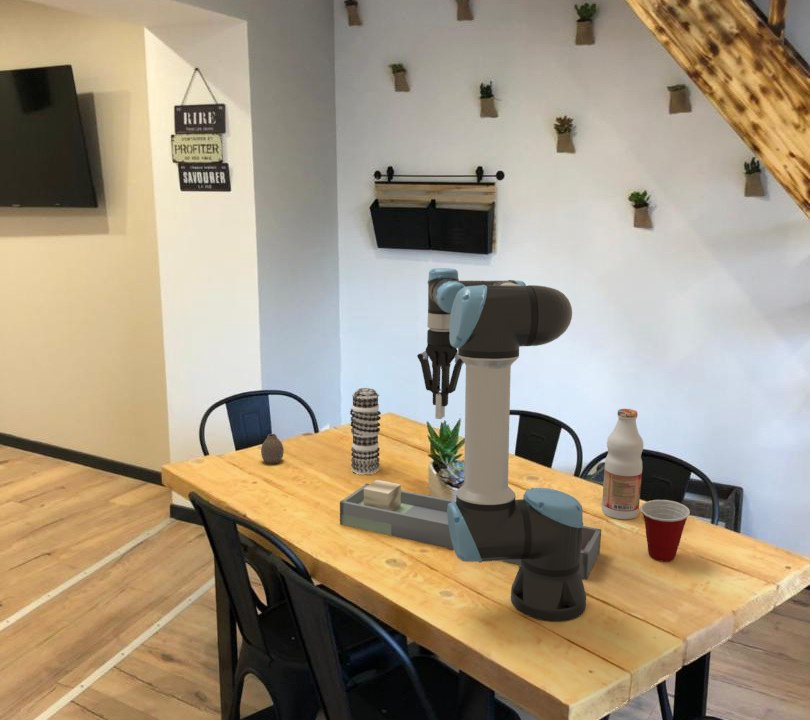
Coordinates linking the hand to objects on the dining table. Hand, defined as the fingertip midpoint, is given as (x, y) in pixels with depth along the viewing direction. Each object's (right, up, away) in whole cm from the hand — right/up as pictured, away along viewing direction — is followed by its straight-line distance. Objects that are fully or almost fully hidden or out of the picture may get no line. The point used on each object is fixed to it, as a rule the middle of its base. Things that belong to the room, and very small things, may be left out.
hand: (440, 417), depth 197 cm
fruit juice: (+48, -26, +1) cm, 54 cm away
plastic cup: (+50, -31, -23) cm, 63 cm away
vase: (-50, -17, +36) cm, 64 cm away
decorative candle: (-21, -18, +30) cm, 41 cm away
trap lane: (+5, -28, -15) cm, 32 cm away
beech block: (-15, -23, -6) cm, 28 cm away
